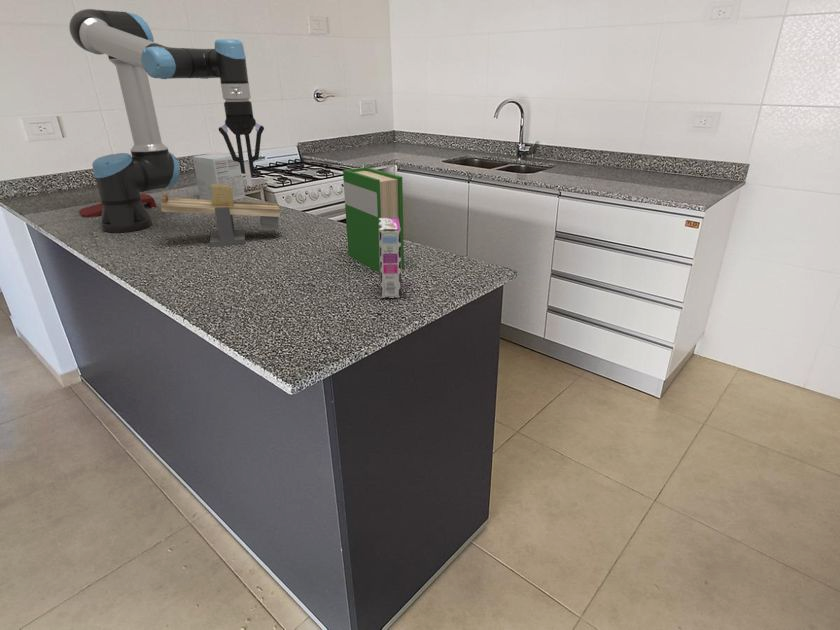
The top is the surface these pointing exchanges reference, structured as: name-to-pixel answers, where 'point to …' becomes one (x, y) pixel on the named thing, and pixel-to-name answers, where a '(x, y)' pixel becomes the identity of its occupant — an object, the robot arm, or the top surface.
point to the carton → (97, 209)
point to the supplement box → (218, 174)
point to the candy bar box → (390, 257)
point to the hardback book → (370, 211)
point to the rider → (222, 195)
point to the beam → (264, 210)
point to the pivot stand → (226, 230)
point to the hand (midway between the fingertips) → (249, 184)
